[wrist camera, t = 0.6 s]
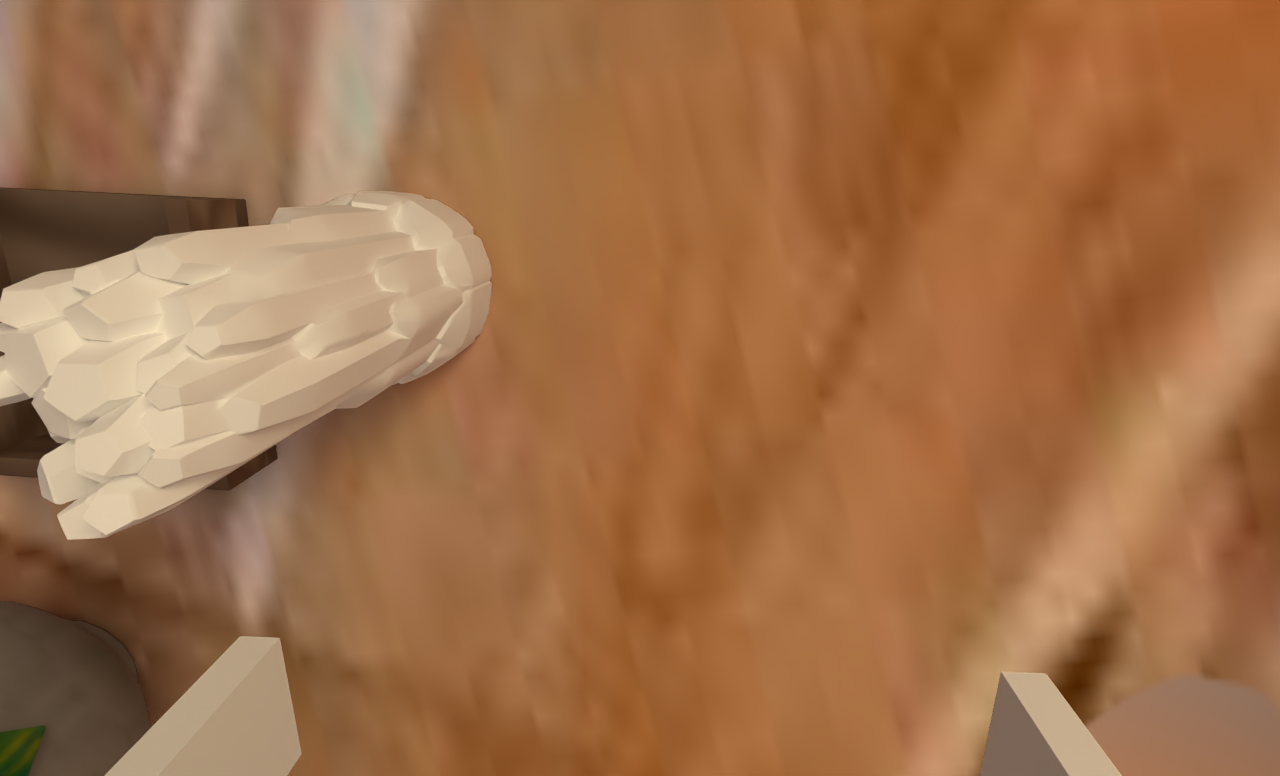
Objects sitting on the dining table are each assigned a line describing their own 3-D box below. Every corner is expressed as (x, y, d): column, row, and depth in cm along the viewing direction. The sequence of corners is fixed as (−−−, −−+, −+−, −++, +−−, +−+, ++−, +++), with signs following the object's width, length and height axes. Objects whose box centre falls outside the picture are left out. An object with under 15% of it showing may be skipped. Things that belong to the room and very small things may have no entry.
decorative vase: (311, 191, 40) (-253, 192, 16) (486, 189, 39) (178, 187, 15) (337, 366, 43) (-100, 591, 19) (499, 367, 42) (261, 599, 18)
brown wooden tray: (-13, 186, 41) (-106, 186, 36) (245, 199, 40) (186, 200, 35) (46, 443, 45) (-28, 473, 41) (277, 458, 45) (229, 490, 40)
